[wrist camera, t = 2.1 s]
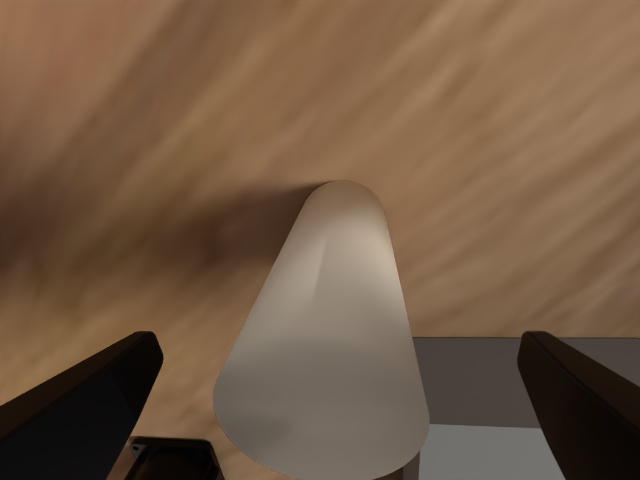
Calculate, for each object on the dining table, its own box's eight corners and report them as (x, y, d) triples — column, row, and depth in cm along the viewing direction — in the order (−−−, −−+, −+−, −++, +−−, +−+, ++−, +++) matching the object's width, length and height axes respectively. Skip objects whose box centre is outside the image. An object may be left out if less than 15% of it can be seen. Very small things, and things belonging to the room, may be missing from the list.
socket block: (402, 486, 23) (413, 582, 18) (405, 337, 17) (421, 423, 13) (616, 501, 21) (686, 612, 16) (699, 338, 15) (843, 440, 11)
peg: (305, 260, 16) (236, 477, 7) (295, 183, 14) (188, 335, 5) (385, 257, 15) (425, 490, 6) (384, 177, 14) (435, 335, 5)
